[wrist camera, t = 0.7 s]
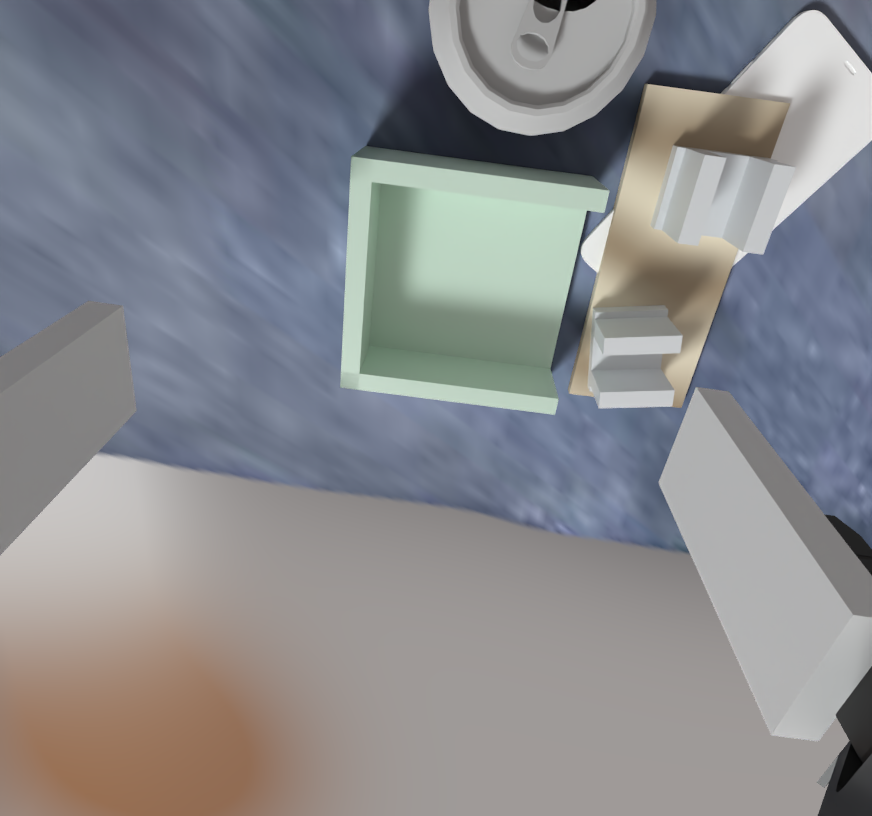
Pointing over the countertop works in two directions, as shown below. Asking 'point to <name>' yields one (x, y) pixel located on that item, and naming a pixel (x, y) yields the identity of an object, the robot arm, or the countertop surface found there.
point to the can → (539, 57)
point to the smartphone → (799, 110)
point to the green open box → (459, 276)
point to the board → (653, 249)
